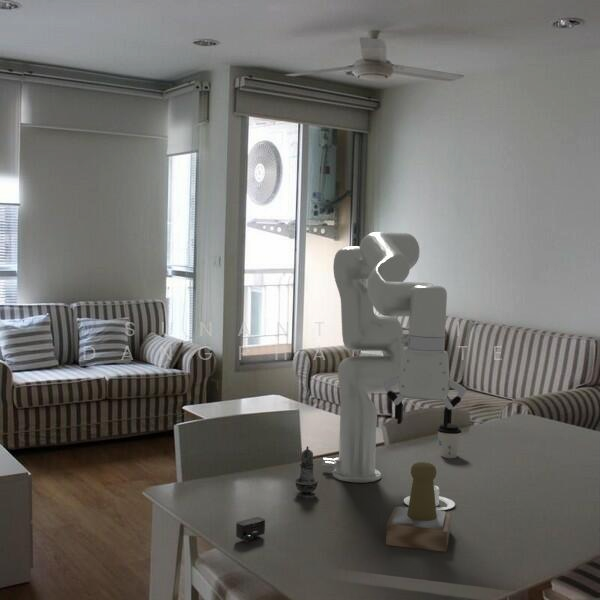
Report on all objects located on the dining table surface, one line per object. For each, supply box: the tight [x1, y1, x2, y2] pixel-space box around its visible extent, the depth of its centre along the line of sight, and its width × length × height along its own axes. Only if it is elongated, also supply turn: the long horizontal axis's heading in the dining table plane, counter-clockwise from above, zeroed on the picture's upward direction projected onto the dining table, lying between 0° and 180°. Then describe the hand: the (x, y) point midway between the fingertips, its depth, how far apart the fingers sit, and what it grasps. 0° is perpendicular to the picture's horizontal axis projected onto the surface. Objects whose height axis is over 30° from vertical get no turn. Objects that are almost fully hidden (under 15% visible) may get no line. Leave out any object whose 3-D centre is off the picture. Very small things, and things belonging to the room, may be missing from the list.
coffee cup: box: [436, 423, 462, 459], centre depth 229 cm, size 7×7×10 cm
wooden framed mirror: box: [385, 506, 452, 553], centre depth 164 cm, size 12×12×5 cm
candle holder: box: [403, 485, 456, 511], centre depth 187 cm, size 12×12×4 cm
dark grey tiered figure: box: [293, 445, 320, 500], centre depth 191 cm, size 6×6×12 cm
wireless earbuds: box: [235, 516, 266, 543], centre depth 162 cm, size 4×7×3 cm, turn 133°
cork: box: [407, 461, 437, 521], centre depth 164 cm, size 6×6×11 cm
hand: (422, 424), depth 167 cm, fingers open, 9 cm apart
